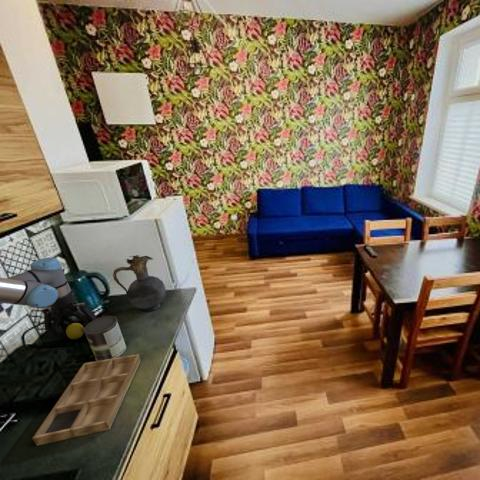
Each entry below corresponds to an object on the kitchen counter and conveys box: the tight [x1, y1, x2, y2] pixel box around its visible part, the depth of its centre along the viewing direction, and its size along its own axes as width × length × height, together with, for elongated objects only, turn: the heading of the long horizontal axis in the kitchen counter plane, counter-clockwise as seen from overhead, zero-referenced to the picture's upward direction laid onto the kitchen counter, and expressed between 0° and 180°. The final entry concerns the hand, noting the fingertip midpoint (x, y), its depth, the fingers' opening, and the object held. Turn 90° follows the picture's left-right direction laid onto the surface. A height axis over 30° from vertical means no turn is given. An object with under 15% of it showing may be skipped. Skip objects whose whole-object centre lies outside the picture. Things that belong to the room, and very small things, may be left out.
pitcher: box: [112, 254, 167, 313], centre depth 128 cm, size 11×19×30 cm, turn 111°
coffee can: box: [83, 315, 127, 361], centre depth 105 cm, size 10×10×14 cm
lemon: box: [65, 322, 85, 340], centre depth 113 cm, size 6×6×8 cm
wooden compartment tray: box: [31, 353, 141, 447], centre depth 89 cm, size 18×27×3 cm
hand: (78, 337), depth 114 cm, fingers open, 10 cm apart
